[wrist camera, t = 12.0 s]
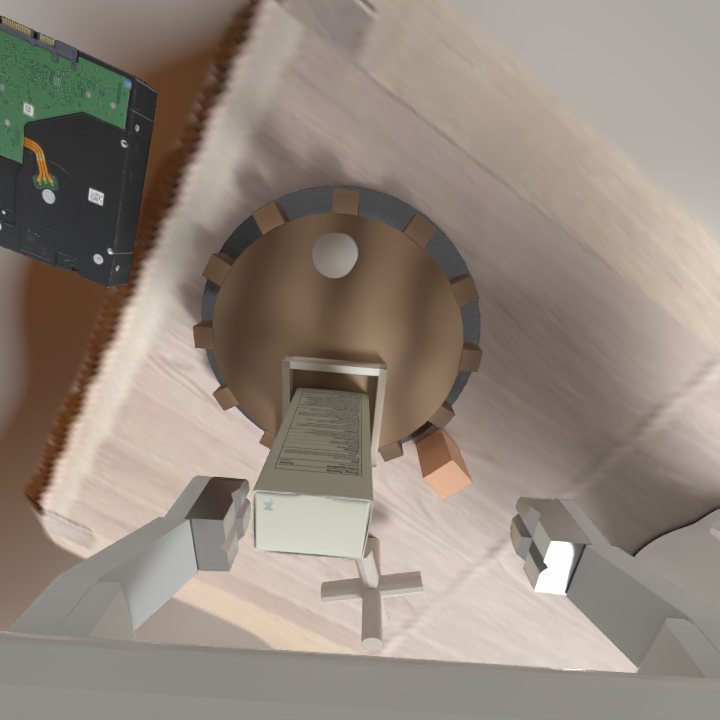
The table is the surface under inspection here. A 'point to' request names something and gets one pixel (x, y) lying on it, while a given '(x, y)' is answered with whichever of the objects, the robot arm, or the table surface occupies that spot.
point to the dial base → (370, 207)
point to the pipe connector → (372, 593)
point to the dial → (339, 320)
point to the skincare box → (317, 479)
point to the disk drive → (70, 155)
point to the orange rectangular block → (442, 464)
